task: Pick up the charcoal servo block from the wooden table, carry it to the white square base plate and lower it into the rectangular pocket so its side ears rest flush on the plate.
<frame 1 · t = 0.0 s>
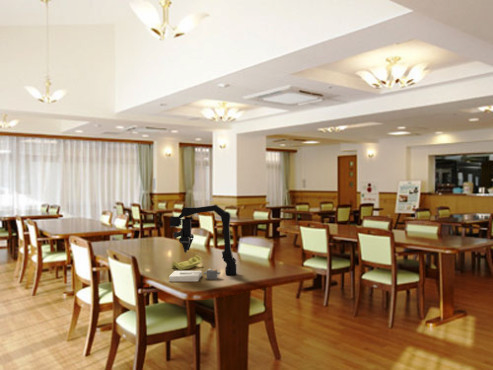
hand: (186, 251, 264), 15 cm above the table, tool pointing down, fingers open, 9 cm apart
servo: (212, 278, 253), on the table
white square base plate: (185, 278, 253), on the table
plastic component: (187, 268, 287), on the table
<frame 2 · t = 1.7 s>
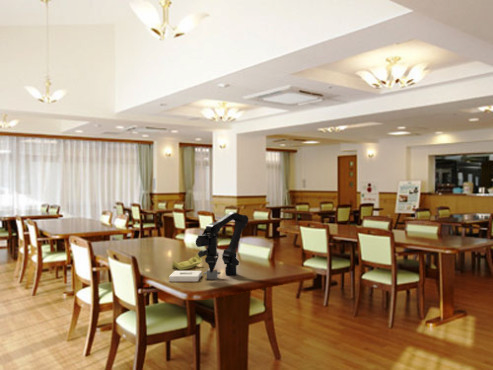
hand: (212, 270, 253), 5 cm above the table, tool pointing down, fingers open, 9 cm apart
nothing on the table moved.
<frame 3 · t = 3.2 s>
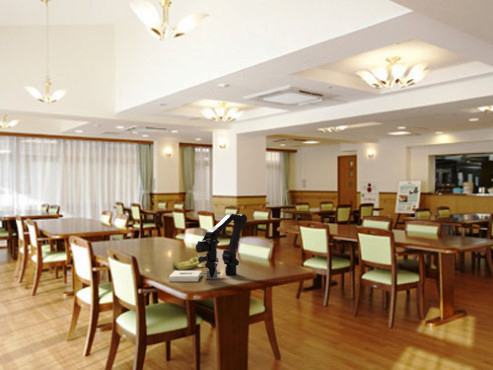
hand: (212, 276, 253), 1 cm above the table, tool pointing down, fingers closed on servo, 4 cm apart
servo: (212, 278, 253), on the table, touching gripper
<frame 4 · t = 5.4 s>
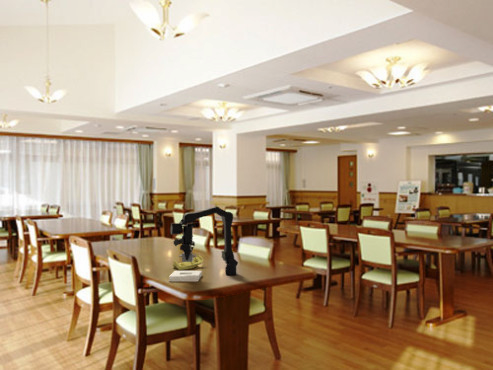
hand: (187, 259, 253), 11 cm above the table, tool pointing down, fingers closed on servo, 4 cm apart
servo: (187, 261, 253), point 10 cm above the table, touching gripper
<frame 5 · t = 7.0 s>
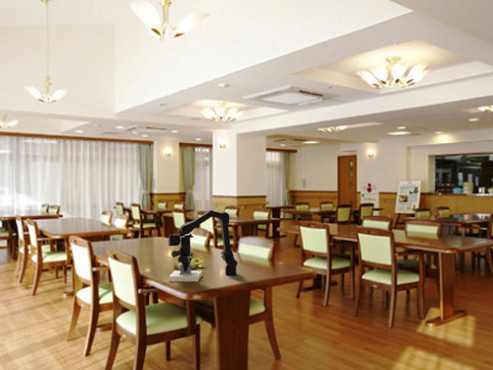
hand: (186, 270, 253), 5 cm above the table, tool pointing down, fingers closed on servo, 4 cm apart
servo: (185, 272, 253), point 4 cm above the table, touching gripper
when the fingers open (3 cm above the table, at t = 8.0 s): servo drops 2 cm, resting on white square base plate.
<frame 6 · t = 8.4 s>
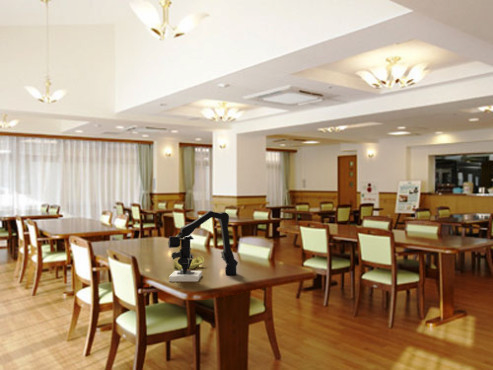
hand: (185, 272, 253), 3 cm above the table, tool pointing down, fingers open, 8 cm apart
servo: (185, 278, 253), resting on white square base plate
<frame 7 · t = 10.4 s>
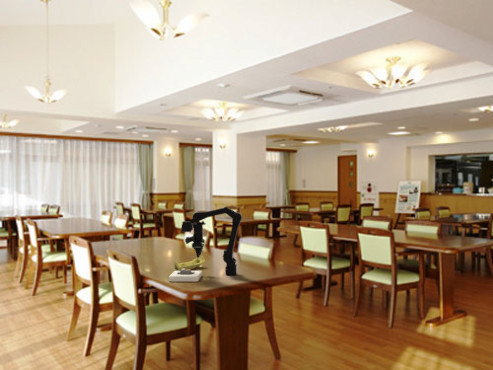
hand: (198, 256, 265), 11 cm above the table, tool pointing down, fingers open, 9 cm apart
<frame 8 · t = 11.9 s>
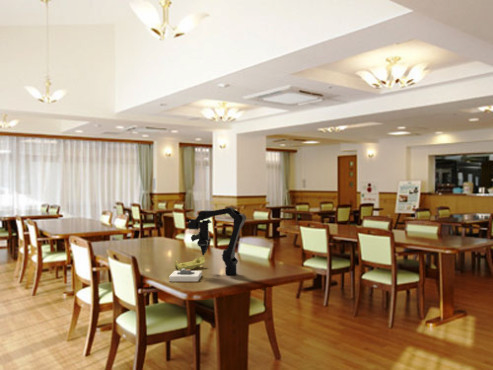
hand: (204, 253, 270), 12 cm above the table, tool pointing down, fingers open, 9 cm apart
at the end: servo 0.1 cm off-centre on the white square base plate, point 0.0 cm above the white square base plate's base; servo tilted 0°; the gripper is holding nothing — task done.
